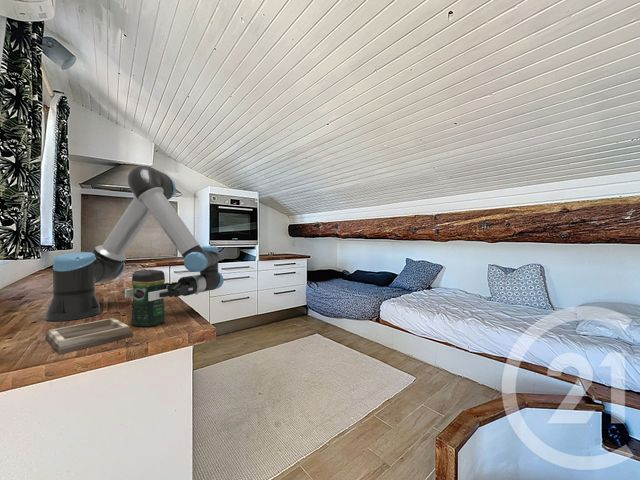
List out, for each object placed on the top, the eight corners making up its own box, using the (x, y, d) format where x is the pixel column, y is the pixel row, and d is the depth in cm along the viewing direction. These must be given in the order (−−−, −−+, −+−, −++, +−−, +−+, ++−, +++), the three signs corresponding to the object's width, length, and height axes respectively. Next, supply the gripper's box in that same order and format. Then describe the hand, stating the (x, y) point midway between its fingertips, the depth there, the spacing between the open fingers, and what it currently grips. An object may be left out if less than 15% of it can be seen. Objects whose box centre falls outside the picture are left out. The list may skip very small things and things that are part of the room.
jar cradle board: (45, 338, 79) (45, 328, 79) (112, 324, 92) (112, 316, 92) (59, 354, 68) (59, 343, 68) (132, 336, 81) (133, 327, 81)
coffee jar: (169, 321, 96) (169, 269, 96) (149, 328, 88) (150, 271, 88) (147, 319, 99) (147, 268, 98) (126, 325, 91) (127, 270, 91)
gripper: (213, 296, 106) (161, 310, 85) (170, 292, 114) (114, 303, 94) (213, 277, 106) (162, 286, 85) (170, 274, 114) (114, 281, 94)
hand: (136, 295), depth 90 cm, fingers open, 11 cm apart
